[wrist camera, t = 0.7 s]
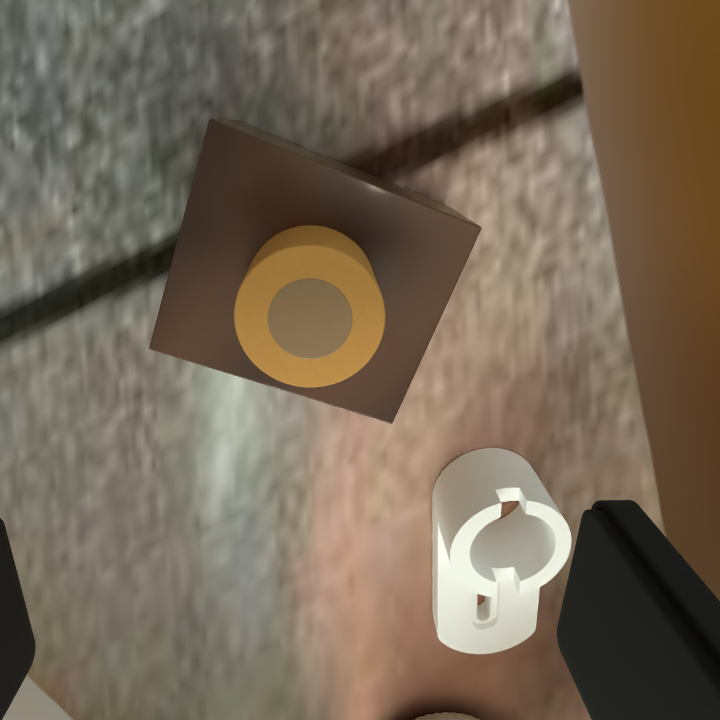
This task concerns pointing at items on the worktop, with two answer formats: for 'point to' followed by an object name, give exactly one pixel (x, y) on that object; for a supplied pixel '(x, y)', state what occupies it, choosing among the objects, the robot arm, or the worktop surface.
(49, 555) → the worktop surface
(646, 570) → the robot arm
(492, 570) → the white slotted cylinder
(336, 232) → the tape roll
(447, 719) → the canister
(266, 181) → the brown square pedestal
